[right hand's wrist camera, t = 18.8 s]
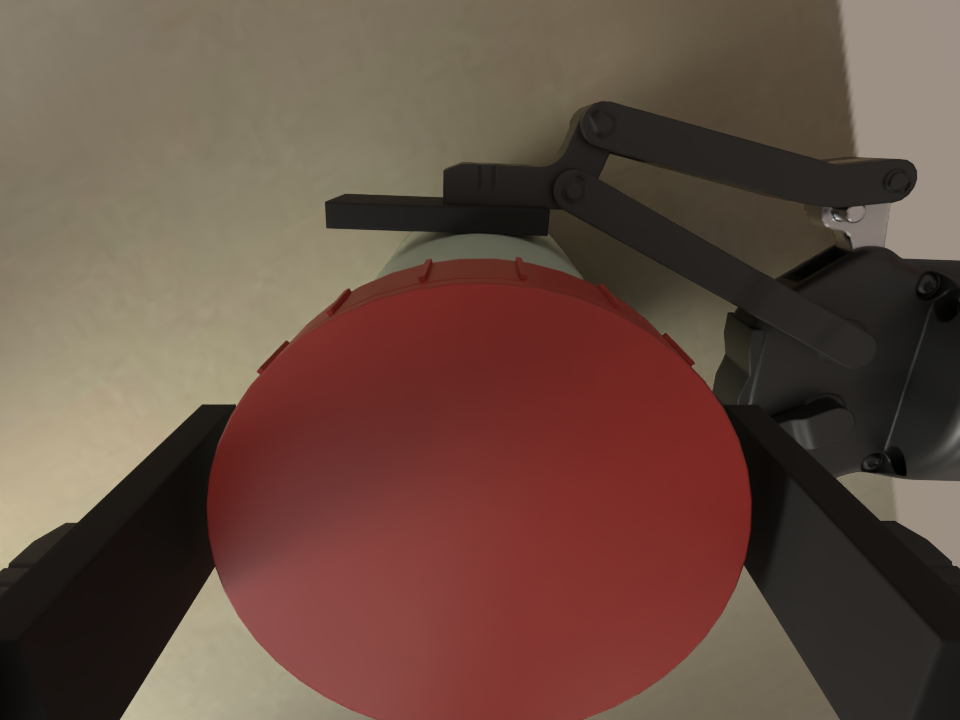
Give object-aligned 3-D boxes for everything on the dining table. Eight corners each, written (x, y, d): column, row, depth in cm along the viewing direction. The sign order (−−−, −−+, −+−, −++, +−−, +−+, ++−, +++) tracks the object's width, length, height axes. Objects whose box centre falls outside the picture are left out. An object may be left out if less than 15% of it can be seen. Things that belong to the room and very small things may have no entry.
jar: (580, 204, 24) (737, 302, 10) (571, 391, 27) (679, 685, 13) (375, 206, 24) (215, 308, 10) (389, 393, 27) (284, 689, 13)
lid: (428, 715, 15) (421, 800, 13) (144, 432, 12) (80, 487, 10) (787, 536, 13) (841, 605, 11) (552, 142, 10) (569, 142, 8)
